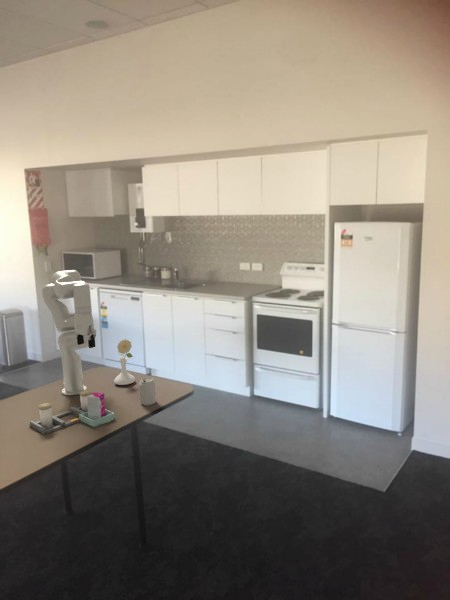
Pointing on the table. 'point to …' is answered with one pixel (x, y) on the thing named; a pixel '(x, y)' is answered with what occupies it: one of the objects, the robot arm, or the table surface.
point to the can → (147, 391)
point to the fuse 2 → (84, 400)
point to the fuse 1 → (46, 415)
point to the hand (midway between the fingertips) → (86, 345)
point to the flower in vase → (124, 364)
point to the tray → (99, 421)
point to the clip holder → (57, 421)
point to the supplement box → (96, 405)
